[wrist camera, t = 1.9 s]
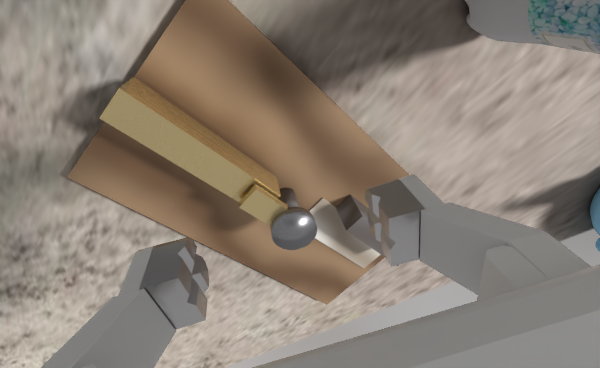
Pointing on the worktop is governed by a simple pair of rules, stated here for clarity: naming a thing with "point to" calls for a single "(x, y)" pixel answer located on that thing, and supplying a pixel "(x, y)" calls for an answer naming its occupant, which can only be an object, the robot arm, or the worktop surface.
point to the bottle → (539, 22)
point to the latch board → (249, 153)
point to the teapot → (596, 215)
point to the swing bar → (208, 160)
